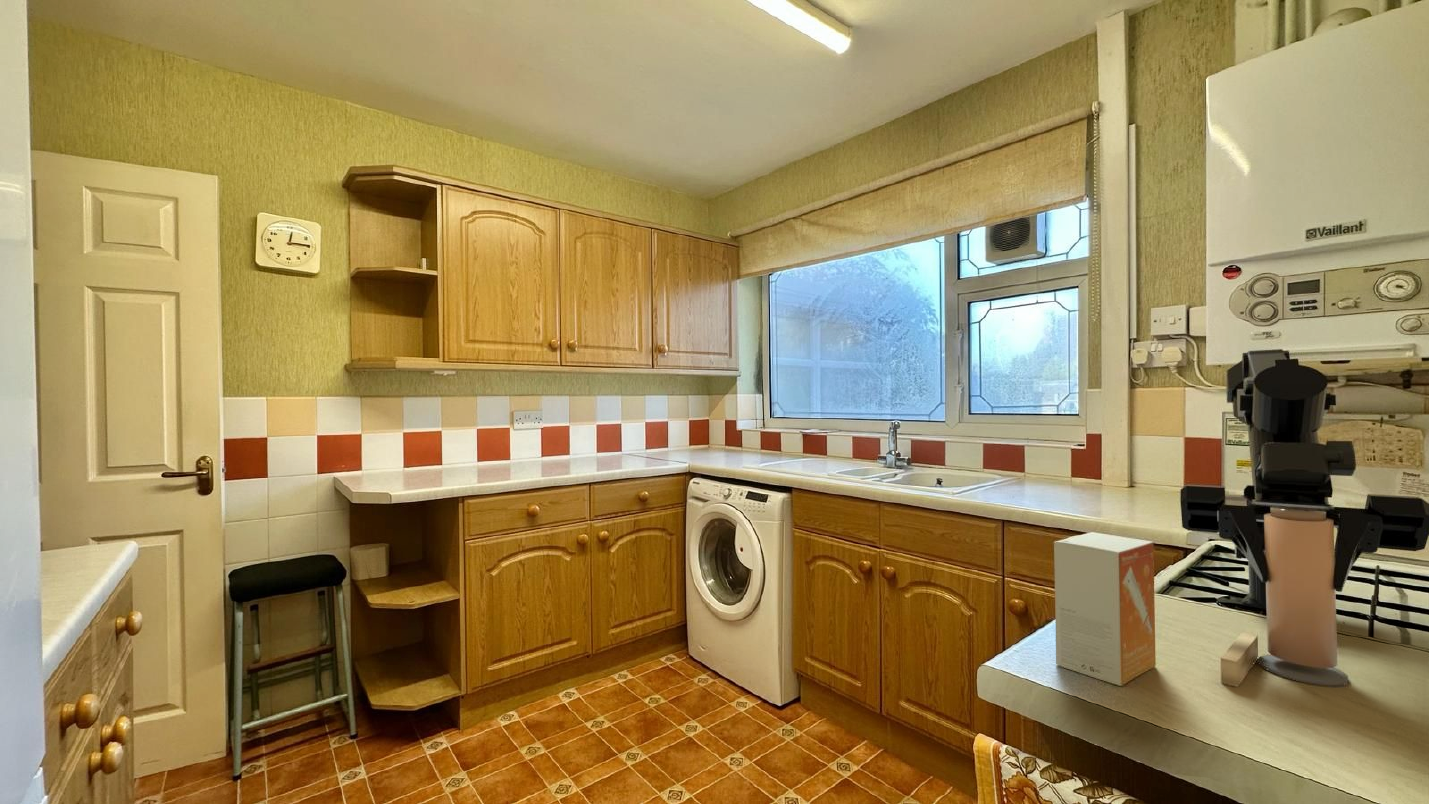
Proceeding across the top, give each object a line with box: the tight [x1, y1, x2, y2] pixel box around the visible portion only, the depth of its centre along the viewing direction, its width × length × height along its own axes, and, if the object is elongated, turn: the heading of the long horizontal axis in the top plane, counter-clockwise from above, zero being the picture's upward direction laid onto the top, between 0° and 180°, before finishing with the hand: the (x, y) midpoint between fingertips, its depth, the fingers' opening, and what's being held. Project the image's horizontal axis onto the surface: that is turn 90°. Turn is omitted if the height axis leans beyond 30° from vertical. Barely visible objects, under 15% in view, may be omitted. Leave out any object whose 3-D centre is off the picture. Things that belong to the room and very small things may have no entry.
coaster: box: [1257, 653, 1349, 687], centre depth 60 cm, size 6×6×1 cm
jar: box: [1264, 506, 1338, 668], centre depth 60 cm, size 5×5×15 cm
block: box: [1220, 631, 1259, 688], centre depth 60 cm, size 10×1×2 cm, turn 129°
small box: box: [1053, 531, 1157, 687], centre depth 62 cm, size 8×6×13 cm
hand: (1300, 584), depth 59 cm, fingers closed on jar, 5 cm apart
